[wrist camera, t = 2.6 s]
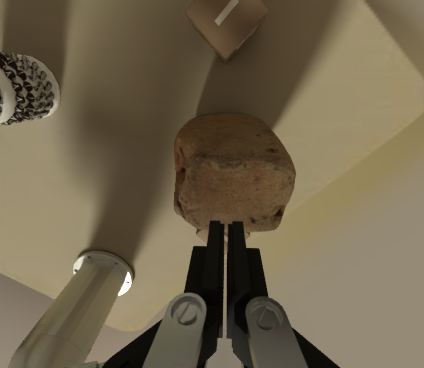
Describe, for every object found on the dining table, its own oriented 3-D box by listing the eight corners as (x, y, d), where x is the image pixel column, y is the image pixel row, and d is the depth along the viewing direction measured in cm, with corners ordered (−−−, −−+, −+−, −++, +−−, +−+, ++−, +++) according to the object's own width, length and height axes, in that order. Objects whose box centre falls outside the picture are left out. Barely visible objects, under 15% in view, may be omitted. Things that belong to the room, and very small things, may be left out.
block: (263, 113, 32) (313, 157, 14) (256, 162, 35) (288, 249, 17) (189, 108, 32) (144, 144, 14) (188, 157, 35) (150, 237, 17)
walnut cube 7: (226, 64, 30) (226, 60, 24) (193, 25, 28) (184, 12, 22) (262, 24, 27) (271, 10, 22) (228, -20, 26) (228, -48, 20)
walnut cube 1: (223, 233, 42) (223, 257, 36) (199, 213, 40) (195, 235, 34) (247, 214, 39) (251, 236, 34) (224, 192, 38) (224, 212, 32)
